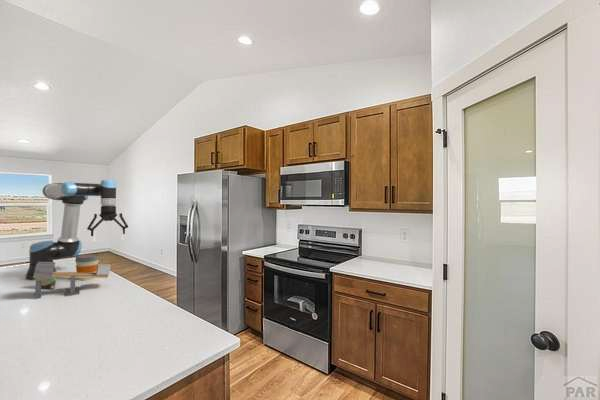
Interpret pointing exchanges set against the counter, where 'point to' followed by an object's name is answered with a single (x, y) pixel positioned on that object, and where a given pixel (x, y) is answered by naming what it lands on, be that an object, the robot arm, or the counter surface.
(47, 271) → the balance beam
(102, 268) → the block
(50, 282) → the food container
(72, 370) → the counter surface
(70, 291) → the balance stand
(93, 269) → the reusable coffee cup
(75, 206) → the robot arm
